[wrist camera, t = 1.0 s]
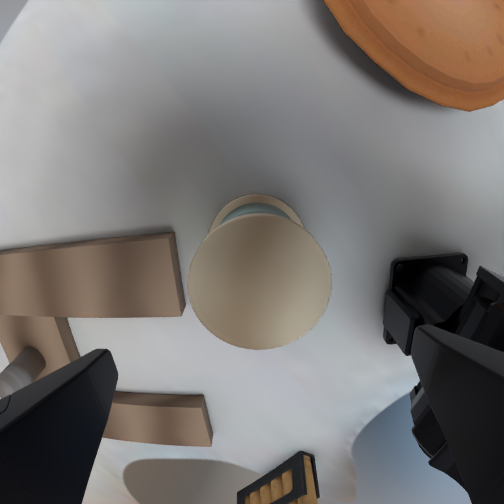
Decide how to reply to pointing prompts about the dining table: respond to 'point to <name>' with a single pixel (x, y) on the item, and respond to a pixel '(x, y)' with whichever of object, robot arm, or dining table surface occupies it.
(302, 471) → the ammunition clip
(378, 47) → the pie
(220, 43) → the dining table surface
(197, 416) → the walnut notched board
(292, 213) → the thread spool
